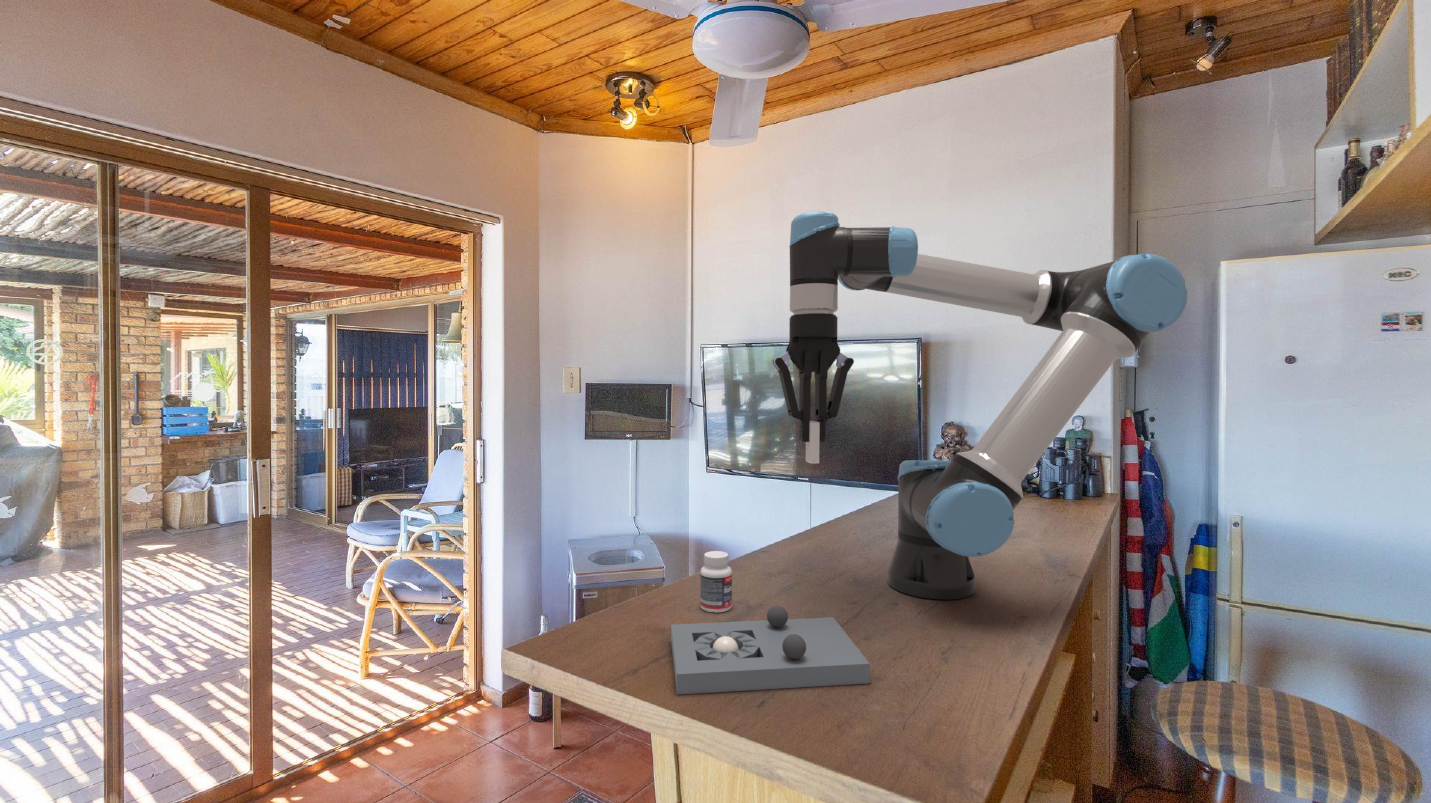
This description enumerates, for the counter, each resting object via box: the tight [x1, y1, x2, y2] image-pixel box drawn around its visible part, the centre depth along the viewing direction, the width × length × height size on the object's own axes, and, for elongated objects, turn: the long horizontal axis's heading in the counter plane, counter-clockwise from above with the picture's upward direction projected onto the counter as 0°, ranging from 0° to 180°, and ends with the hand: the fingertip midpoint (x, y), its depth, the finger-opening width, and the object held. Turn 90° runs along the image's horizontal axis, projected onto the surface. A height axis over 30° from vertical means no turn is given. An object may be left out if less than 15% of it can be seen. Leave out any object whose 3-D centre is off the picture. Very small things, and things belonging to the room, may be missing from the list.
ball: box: [712, 636, 739, 652], centre depth 83 cm, size 4×4×4 cm
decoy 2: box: [782, 634, 806, 660], centre depth 79 cm, size 3×3×3 cm
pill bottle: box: [699, 550, 733, 614], centre depth 103 cm, size 5×5×9 cm
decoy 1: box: [766, 604, 789, 628], centre depth 89 cm, size 3×3×3 cm
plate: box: [670, 616, 871, 695], centre depth 84 cm, size 24×15×2 cm, turn 97°
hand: (812, 462), depth 100 cm, fingers closed
